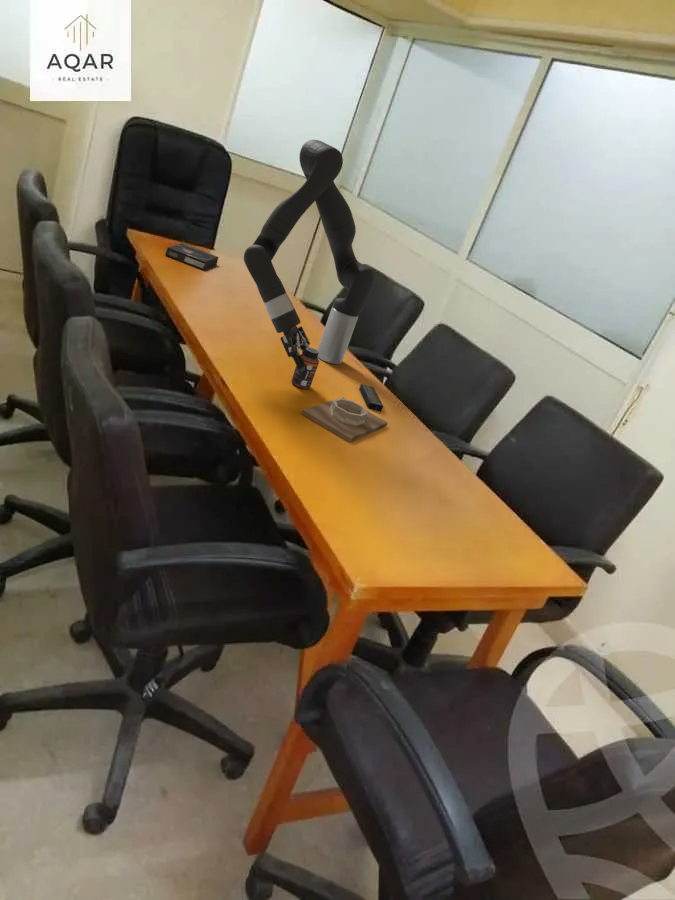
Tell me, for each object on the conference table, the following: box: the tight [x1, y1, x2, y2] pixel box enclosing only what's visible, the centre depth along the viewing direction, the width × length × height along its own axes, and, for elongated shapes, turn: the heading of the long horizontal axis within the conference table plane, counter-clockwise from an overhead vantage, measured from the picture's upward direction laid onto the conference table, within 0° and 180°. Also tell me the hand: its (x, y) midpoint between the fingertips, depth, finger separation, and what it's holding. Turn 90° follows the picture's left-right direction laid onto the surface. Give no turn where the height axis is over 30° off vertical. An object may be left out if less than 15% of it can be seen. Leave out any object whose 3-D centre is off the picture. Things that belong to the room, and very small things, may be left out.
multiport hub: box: [358, 383, 384, 413], centre depth 210 cm, size 4×14×2 cm, turn 10°
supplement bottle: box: [291, 346, 320, 390], centre depth 199 cm, size 6×6×11 cm
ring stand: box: [301, 396, 389, 443], centre depth 189 cm, size 22×16×4 cm
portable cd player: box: [164, 242, 219, 271], centre depth 284 cm, size 16×17×4 cm
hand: (306, 364), depth 199 cm, fingers open, 8 cm apart
